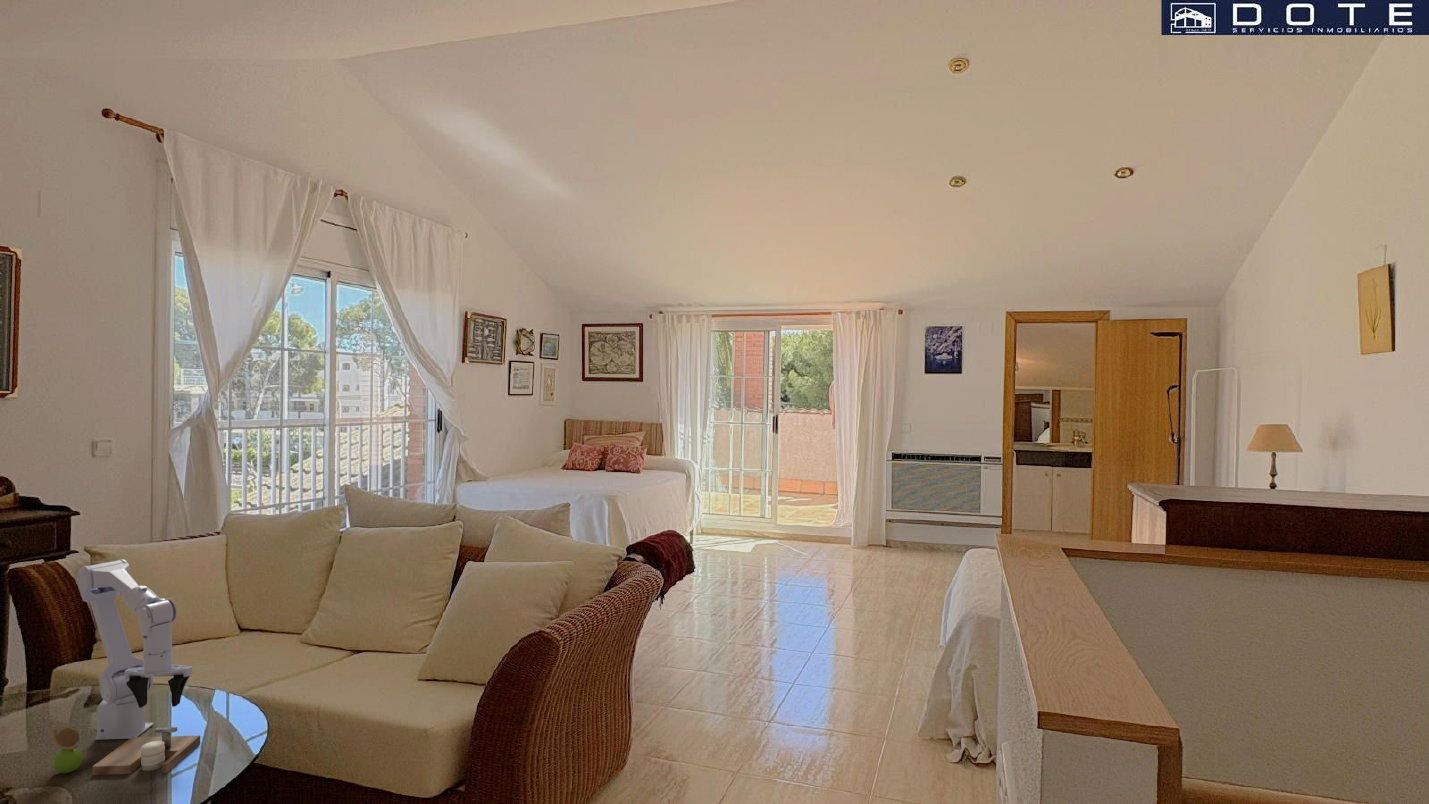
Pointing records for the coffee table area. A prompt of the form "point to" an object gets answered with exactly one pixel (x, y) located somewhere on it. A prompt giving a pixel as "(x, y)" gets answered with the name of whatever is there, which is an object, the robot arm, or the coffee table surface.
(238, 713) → the coffee table surface
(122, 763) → the shelf board
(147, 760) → the ribbed cream cylinder
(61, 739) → the snail figurine
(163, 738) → the hook post
